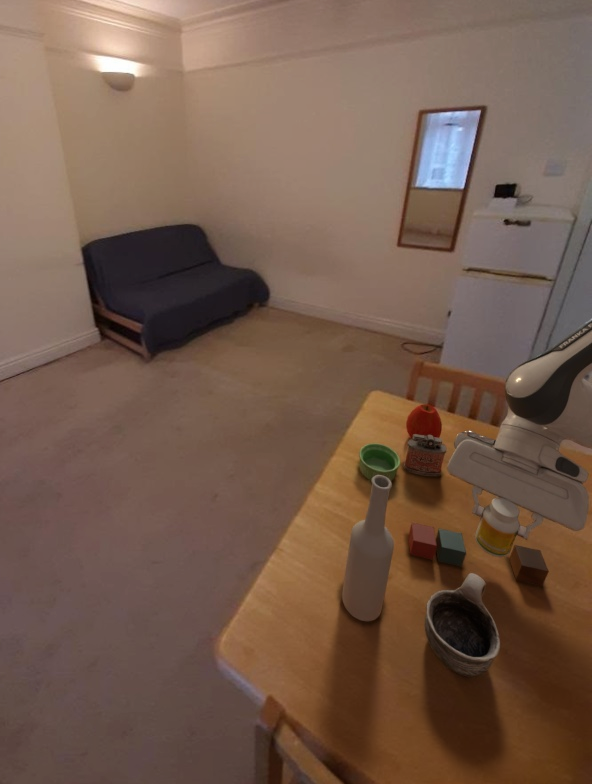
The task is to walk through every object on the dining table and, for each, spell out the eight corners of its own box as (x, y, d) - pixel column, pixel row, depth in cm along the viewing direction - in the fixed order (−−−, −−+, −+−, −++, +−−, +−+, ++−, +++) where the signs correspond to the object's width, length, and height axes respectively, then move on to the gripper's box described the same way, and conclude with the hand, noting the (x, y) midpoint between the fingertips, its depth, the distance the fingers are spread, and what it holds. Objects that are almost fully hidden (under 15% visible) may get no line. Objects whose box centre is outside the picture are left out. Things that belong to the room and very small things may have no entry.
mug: (413, 660, 61) (424, 621, 57) (427, 587, 71) (437, 550, 67) (487, 702, 57) (505, 664, 52) (491, 618, 66) (506, 580, 62)
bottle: (377, 629, 65) (402, 508, 53) (337, 608, 68) (352, 489, 56) (385, 592, 70) (409, 473, 58) (347, 574, 73) (363, 458, 61)
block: (457, 547, 77) (461, 533, 76) (461, 566, 74) (466, 552, 72) (434, 542, 78) (438, 528, 77) (437, 561, 75) (441, 547, 73)
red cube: (430, 541, 79) (434, 527, 77) (433, 560, 75) (437, 545, 74) (408, 536, 80) (411, 522, 78) (410, 554, 76) (413, 540, 75)
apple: (414, 424, 109) (420, 391, 105) (444, 440, 103) (452, 406, 99) (397, 438, 105) (403, 404, 100) (429, 455, 99) (436, 420, 94)
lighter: (439, 467, 95) (447, 434, 91) (441, 478, 92) (450, 444, 88) (402, 461, 97) (408, 429, 93) (404, 472, 94) (410, 438, 90)
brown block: (534, 564, 74) (540, 550, 72) (542, 586, 70) (549, 571, 69) (509, 558, 75) (514, 544, 73) (515, 579, 71) (521, 565, 70)
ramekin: (356, 481, 92) (358, 467, 91) (357, 453, 100) (359, 440, 98) (398, 489, 90) (401, 475, 88) (396, 460, 98) (398, 446, 96)
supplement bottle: (473, 526, 75) (485, 489, 71) (506, 536, 73) (521, 499, 69) (476, 552, 71) (489, 514, 67) (512, 563, 69) (527, 524, 65)
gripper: (459, 423, 76) (433, 493, 73) (601, 477, 63) (576, 563, 61) (460, 429, 81) (436, 495, 78) (593, 480, 68) (569, 561, 66)
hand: (498, 526), depth 69 cm, fingers closed on supplement bottle, 5 cm apart
